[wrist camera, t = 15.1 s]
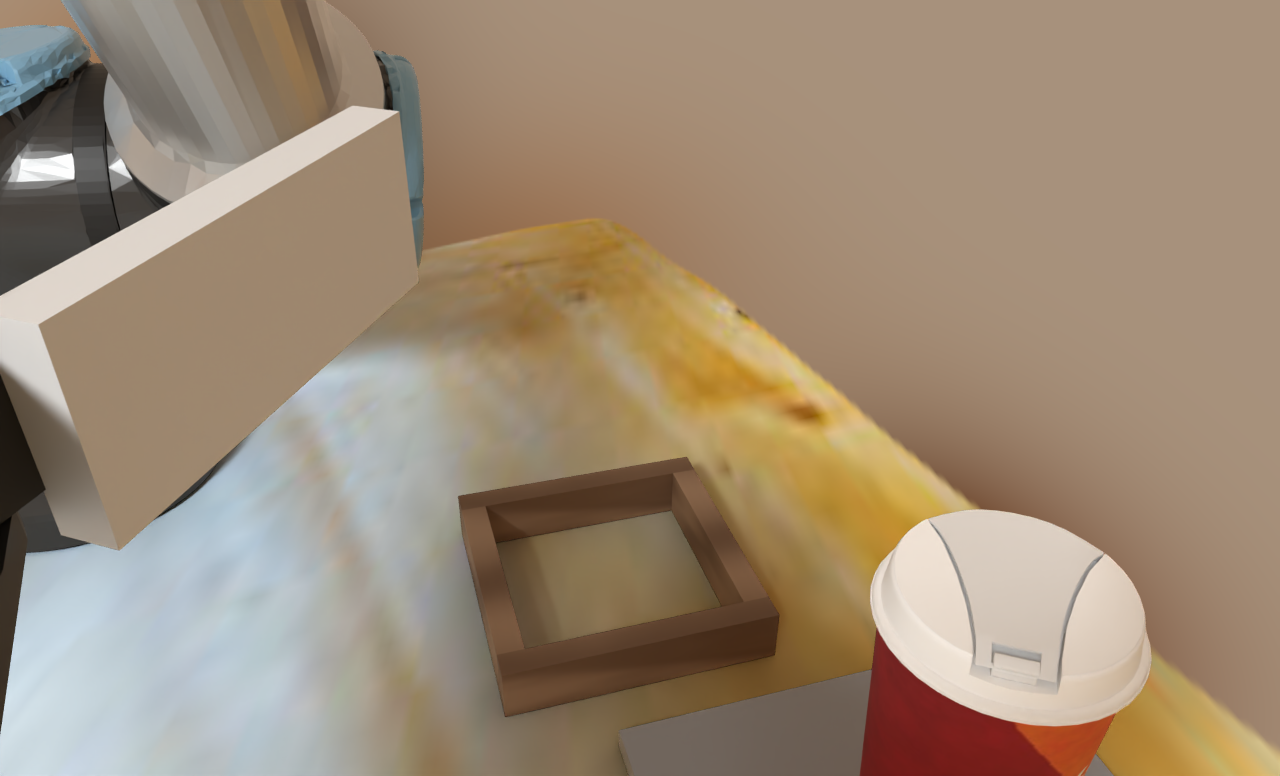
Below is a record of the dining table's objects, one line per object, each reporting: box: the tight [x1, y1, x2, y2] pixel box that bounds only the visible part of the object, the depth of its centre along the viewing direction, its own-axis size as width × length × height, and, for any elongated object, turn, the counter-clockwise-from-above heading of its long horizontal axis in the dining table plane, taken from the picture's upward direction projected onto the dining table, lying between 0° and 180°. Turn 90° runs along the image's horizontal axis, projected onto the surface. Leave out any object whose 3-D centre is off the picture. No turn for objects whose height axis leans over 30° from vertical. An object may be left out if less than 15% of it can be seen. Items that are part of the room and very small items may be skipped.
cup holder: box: [458, 457, 779, 717], centre depth 48 cm, size 12×12×2 cm
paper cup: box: [860, 509, 1151, 776], centre depth 32 cm, size 8×8×14 cm
